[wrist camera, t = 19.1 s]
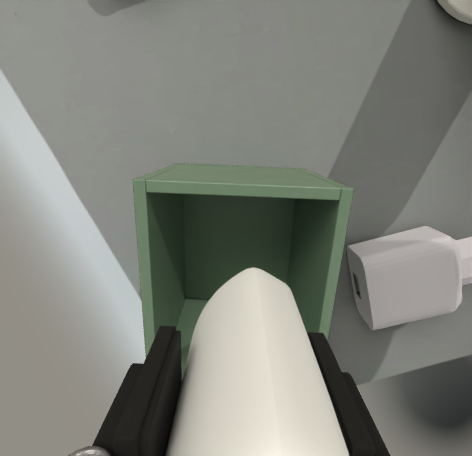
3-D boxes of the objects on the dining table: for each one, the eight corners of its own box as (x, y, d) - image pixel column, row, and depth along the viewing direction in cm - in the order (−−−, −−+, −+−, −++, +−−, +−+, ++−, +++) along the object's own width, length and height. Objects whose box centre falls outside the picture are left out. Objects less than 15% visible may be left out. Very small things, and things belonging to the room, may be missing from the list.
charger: (479, 280, 33) (355, 309, 34) (478, 208, 30) (344, 243, 31) (519, 302, 28) (374, 335, 29) (521, 220, 25) (362, 260, 27)
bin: (177, 163, 29) (132, 179, 16) (304, 168, 29) (354, 188, 16) (180, 299, 34) (147, 389, 21) (289, 303, 34) (318, 395, 21)
